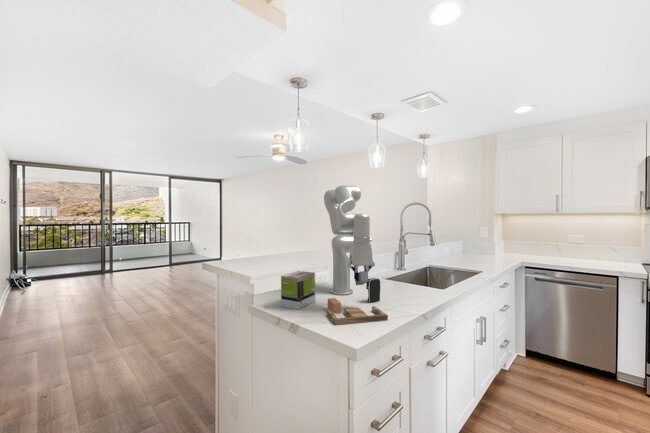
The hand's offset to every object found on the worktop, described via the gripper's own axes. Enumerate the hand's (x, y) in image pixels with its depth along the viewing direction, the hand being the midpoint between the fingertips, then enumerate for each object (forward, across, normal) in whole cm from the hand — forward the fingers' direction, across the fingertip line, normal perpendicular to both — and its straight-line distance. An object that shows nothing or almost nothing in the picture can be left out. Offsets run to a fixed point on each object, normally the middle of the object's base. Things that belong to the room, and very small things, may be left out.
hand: (360, 280), depth 139 cm
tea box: (+13, +27, -13) cm, 33 cm away
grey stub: (+1, 0, +2) cm, 2 cm away
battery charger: (+13, -10, -9) cm, 19 cm away
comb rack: (+13, +6, +11) cm, 18 cm away
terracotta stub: (+13, +13, 0) cm, 18 cm away
